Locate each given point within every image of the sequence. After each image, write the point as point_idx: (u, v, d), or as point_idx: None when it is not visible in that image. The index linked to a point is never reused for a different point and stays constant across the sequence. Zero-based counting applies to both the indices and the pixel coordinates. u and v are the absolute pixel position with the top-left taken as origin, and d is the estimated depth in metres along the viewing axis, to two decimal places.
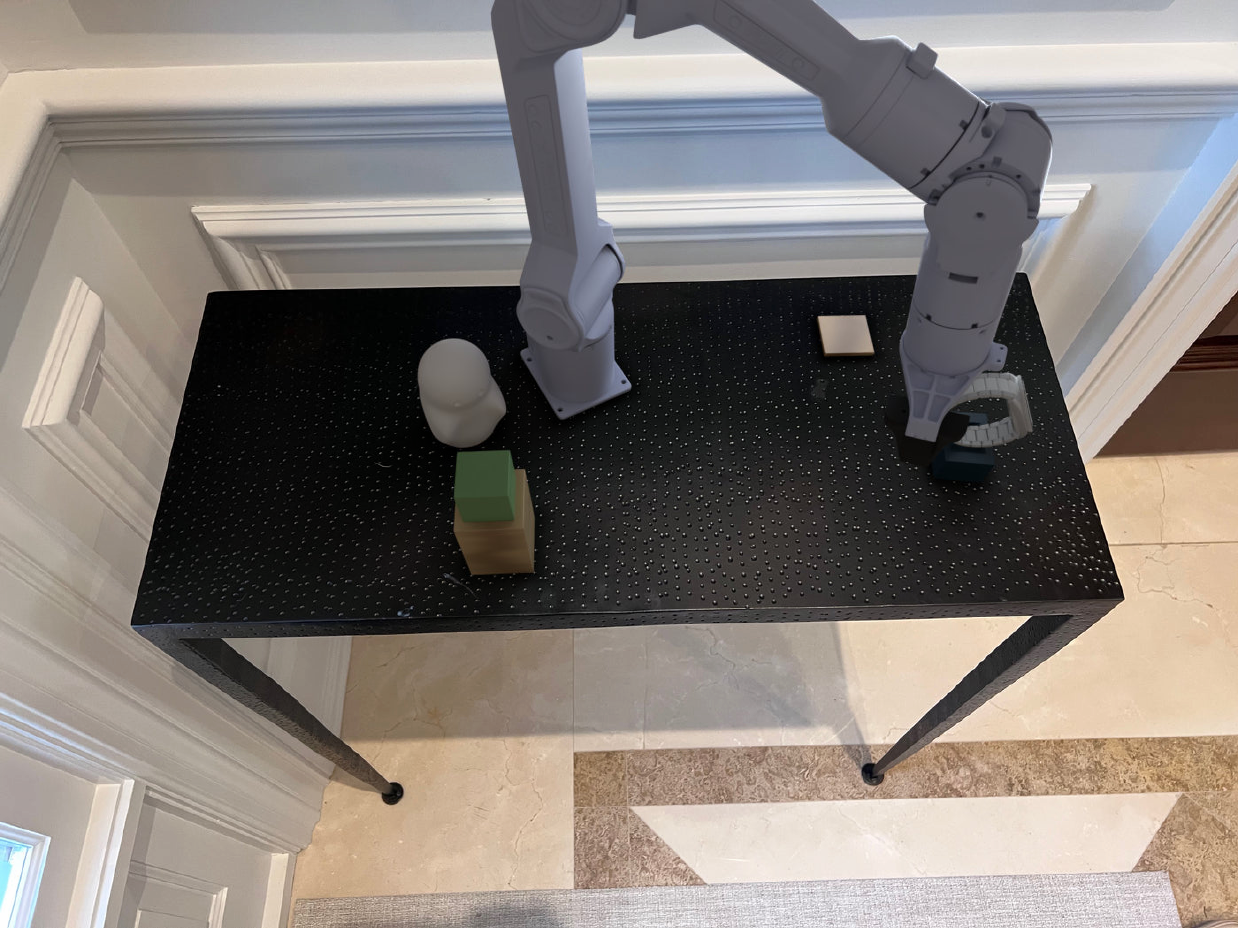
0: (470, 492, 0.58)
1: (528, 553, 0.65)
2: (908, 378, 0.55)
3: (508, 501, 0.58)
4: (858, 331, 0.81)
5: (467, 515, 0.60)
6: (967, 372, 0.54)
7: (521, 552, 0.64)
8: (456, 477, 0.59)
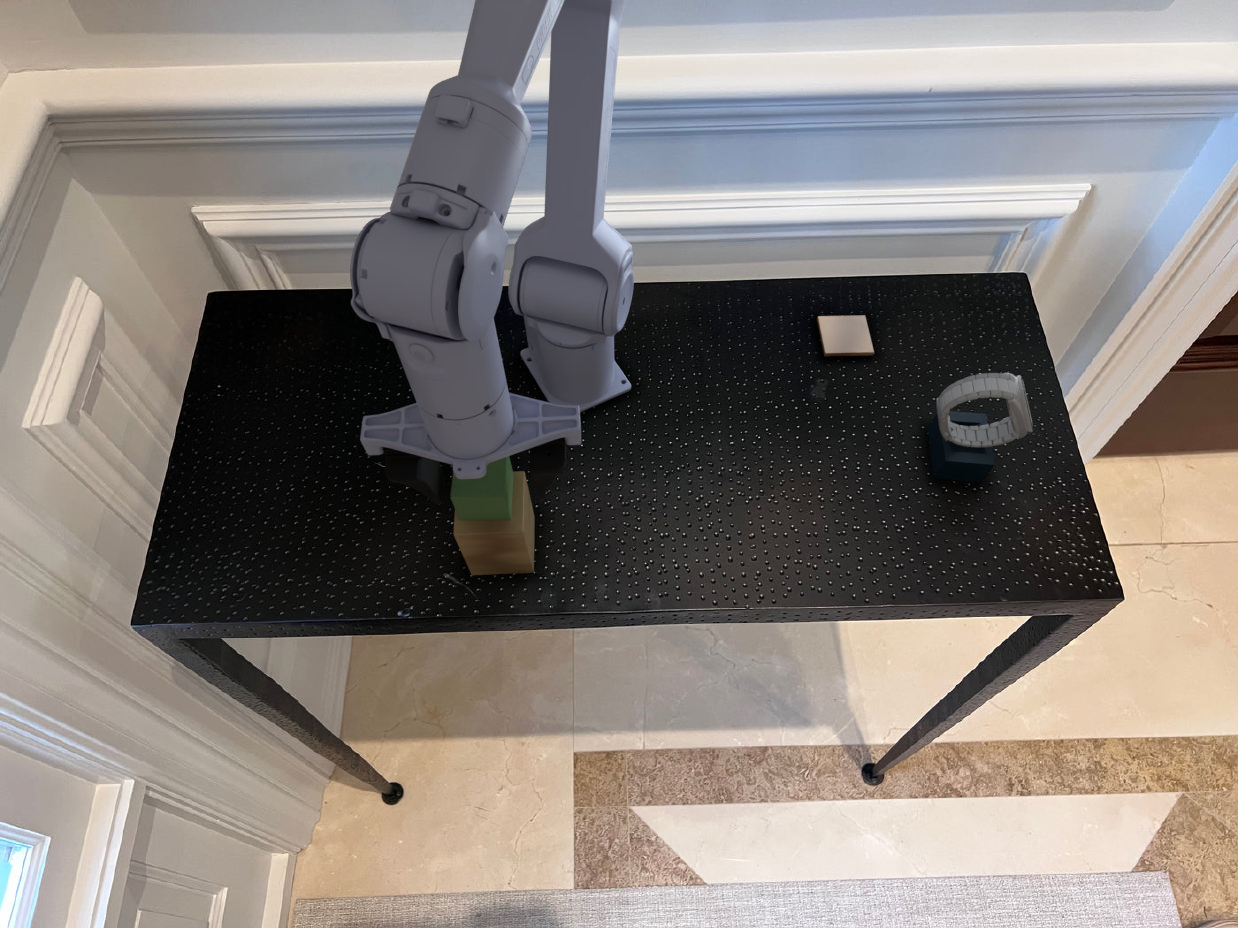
0: (467, 492, 0.58)
1: (528, 555, 0.65)
2: (415, 403, 0.53)
3: (504, 501, 0.58)
4: (858, 331, 0.81)
5: (464, 513, 0.60)
6: (436, 446, 0.52)
7: (521, 554, 0.64)
8: (453, 476, 0.59)
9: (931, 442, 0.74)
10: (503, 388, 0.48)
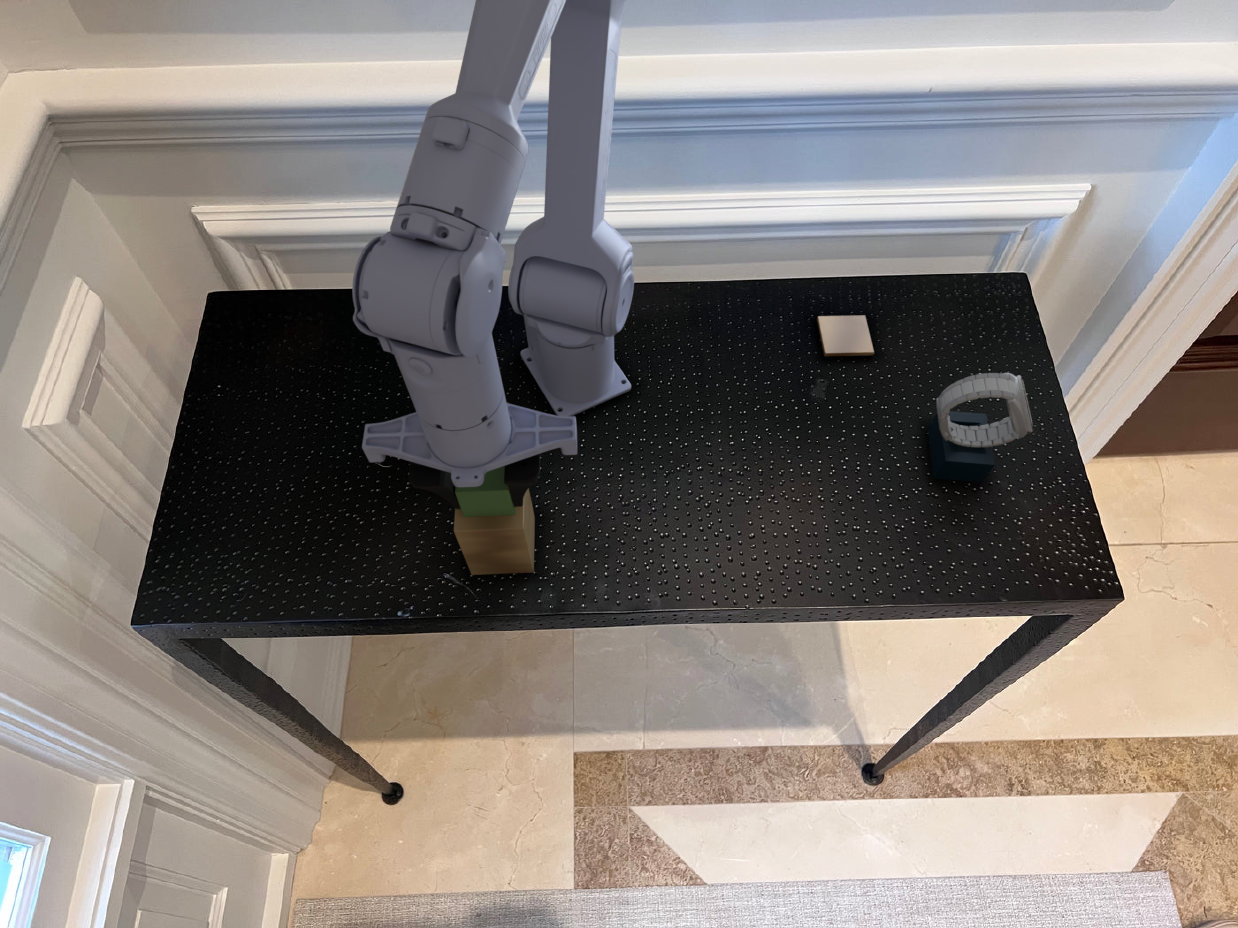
0: (471, 487, 0.58)
1: (528, 553, 0.65)
2: (416, 412, 0.55)
3: (509, 495, 0.59)
4: (858, 331, 0.81)
5: (468, 509, 0.60)
6: (435, 455, 0.53)
7: (521, 552, 0.64)
8: None
9: (931, 442, 0.74)
10: (501, 400, 0.50)
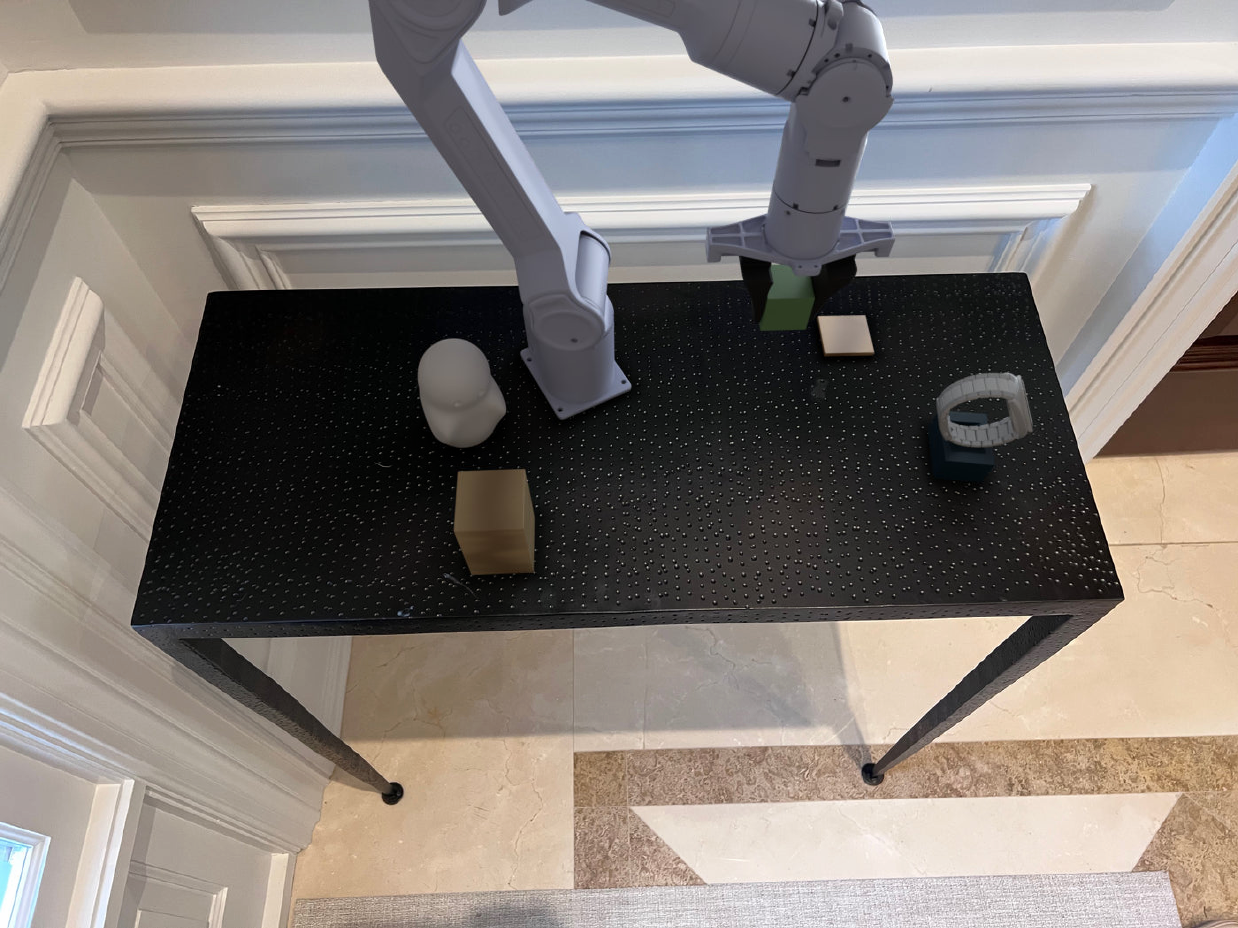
0: (781, 295, 0.66)
1: (528, 553, 0.65)
2: (749, 219, 0.62)
3: (812, 305, 0.66)
4: (858, 331, 0.81)
5: (768, 321, 0.68)
6: (775, 250, 0.61)
7: (521, 552, 0.64)
8: None
9: (931, 442, 0.74)
10: None
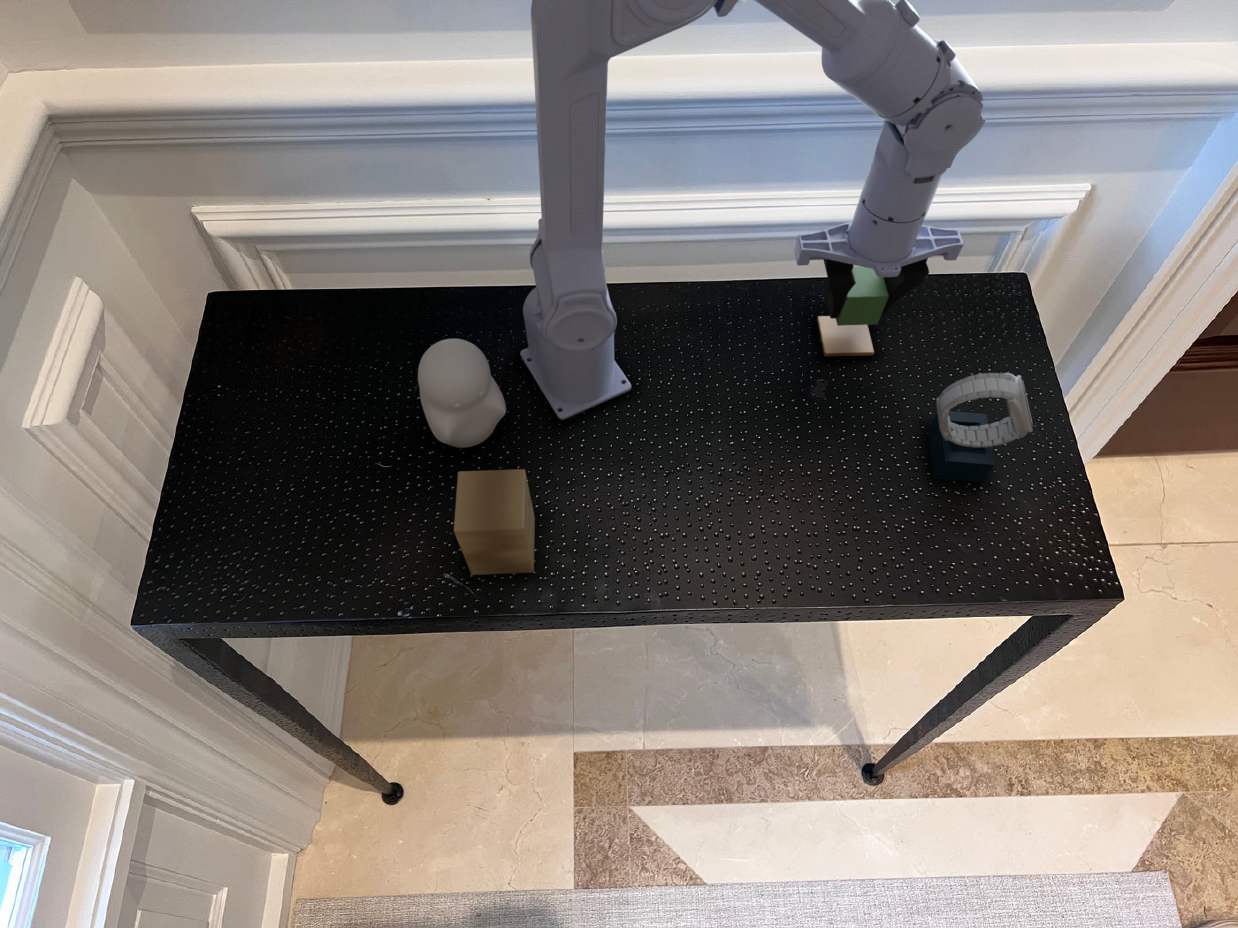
0: (859, 294, 0.74)
1: (528, 553, 0.65)
2: (834, 227, 0.71)
3: (885, 302, 0.75)
4: (858, 331, 0.81)
5: (845, 317, 0.77)
6: (860, 254, 0.69)
7: (521, 552, 0.64)
8: None
9: (931, 442, 0.74)
10: None
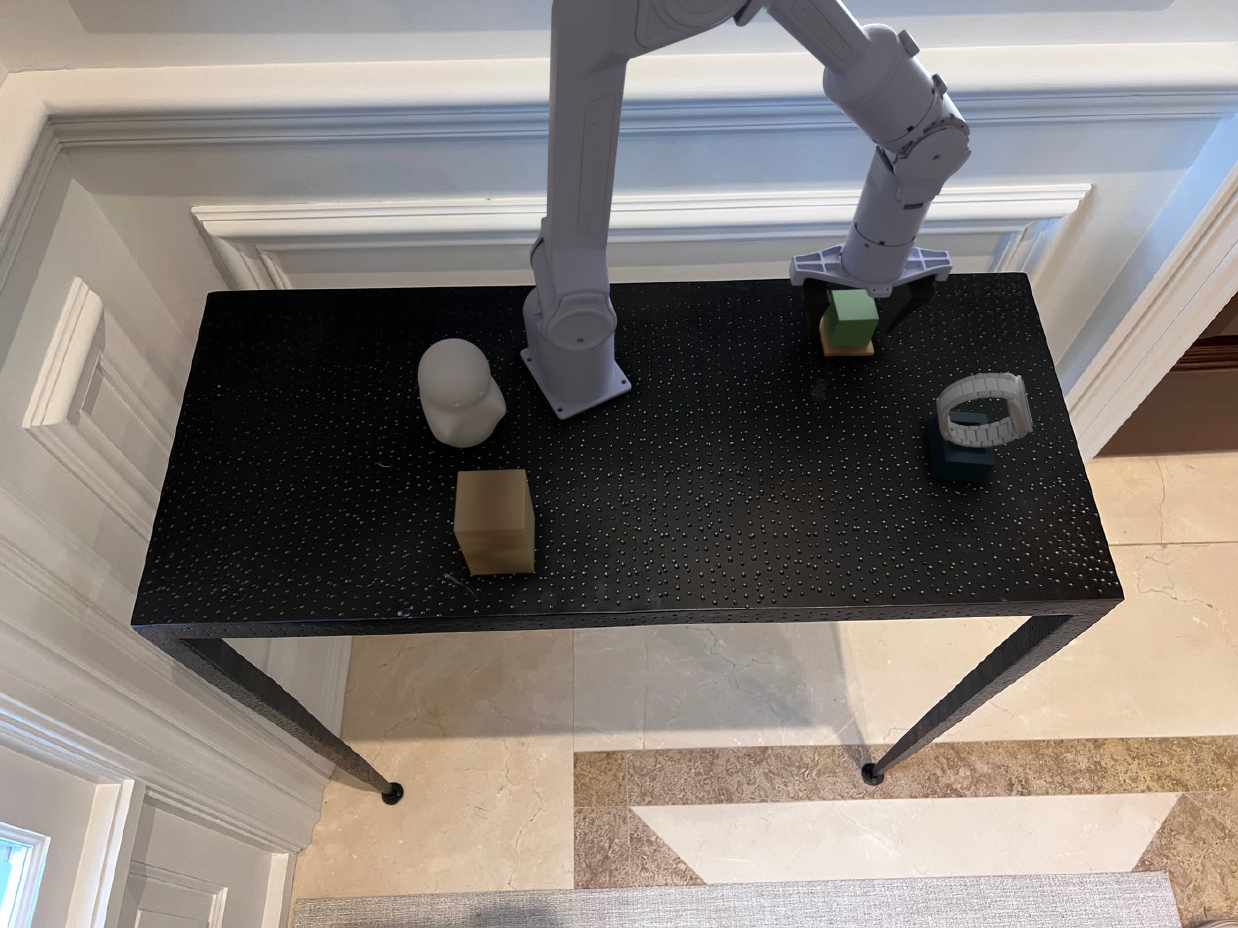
0: (850, 317, 0.77)
1: (528, 553, 0.65)
2: (828, 248, 0.73)
3: (876, 325, 0.78)
4: None
5: (837, 339, 0.79)
6: (852, 275, 0.71)
7: (521, 552, 0.64)
8: (836, 307, 0.78)
9: (931, 442, 0.74)
10: None
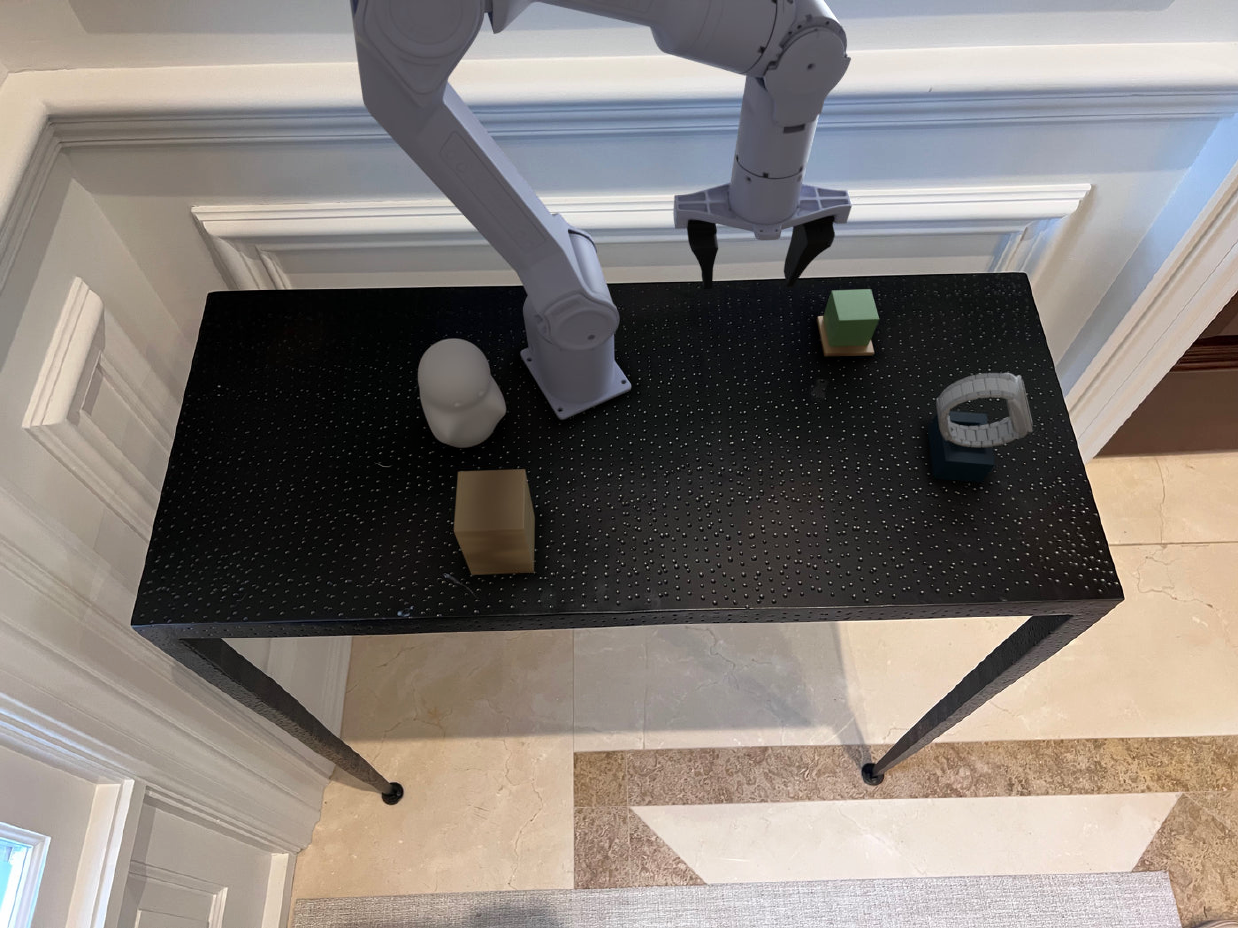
0: (850, 317, 0.77)
1: (528, 553, 0.65)
2: (714, 187, 0.66)
3: (876, 325, 0.78)
4: None
5: (837, 339, 0.79)
6: (739, 216, 0.64)
7: (521, 552, 0.64)
8: (836, 307, 0.78)
9: (931, 442, 0.74)
10: None
